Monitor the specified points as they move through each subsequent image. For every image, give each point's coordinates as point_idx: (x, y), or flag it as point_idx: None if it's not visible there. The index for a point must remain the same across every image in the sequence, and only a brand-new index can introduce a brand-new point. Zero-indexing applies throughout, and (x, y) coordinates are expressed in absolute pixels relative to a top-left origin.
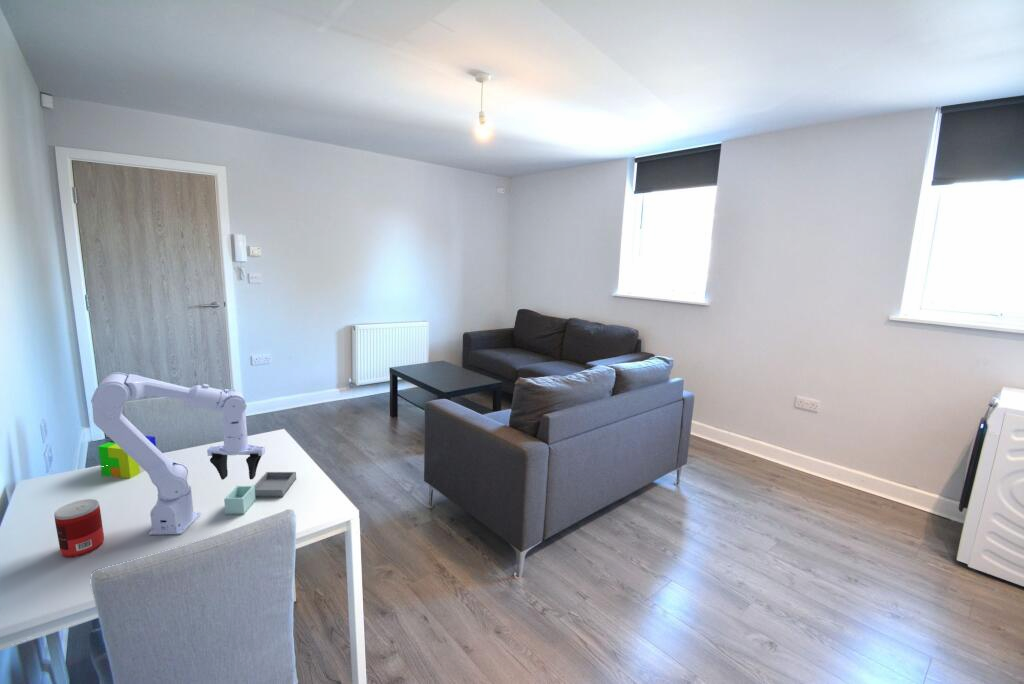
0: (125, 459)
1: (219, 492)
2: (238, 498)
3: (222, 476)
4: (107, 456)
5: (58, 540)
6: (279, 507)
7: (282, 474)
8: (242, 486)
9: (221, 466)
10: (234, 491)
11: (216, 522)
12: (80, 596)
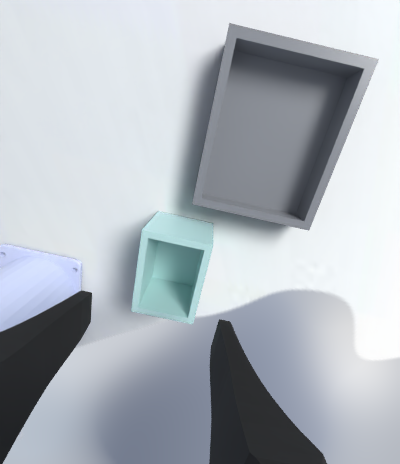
0: None
1: (75, 132)
2: (177, 320)
3: (77, 341)
4: None
5: None
6: (288, 276)
7: (306, 58)
8: (167, 241)
9: (32, 398)
10: (146, 257)
11: None
12: None
